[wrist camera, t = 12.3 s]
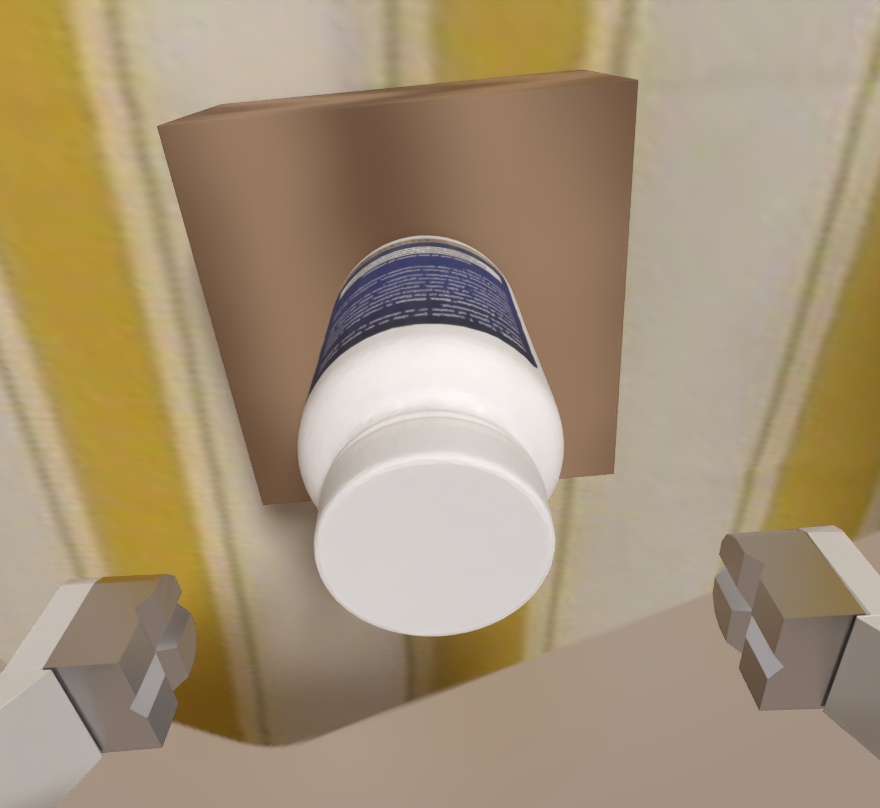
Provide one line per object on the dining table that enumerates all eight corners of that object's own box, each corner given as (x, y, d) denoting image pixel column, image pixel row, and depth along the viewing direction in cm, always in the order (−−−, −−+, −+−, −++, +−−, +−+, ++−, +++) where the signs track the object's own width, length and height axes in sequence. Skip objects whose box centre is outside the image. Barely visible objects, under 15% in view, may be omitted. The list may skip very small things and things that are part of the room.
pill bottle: (296, 289, 18) (193, 508, 10) (464, 195, 17) (513, 348, 9) (393, 429, 21) (379, 702, 12) (545, 354, 20) (647, 598, 11)
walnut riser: (583, 69, 21) (638, 79, 16) (575, 389, 27) (613, 473, 22) (220, 104, 21) (156, 125, 16) (292, 415, 27) (262, 504, 22)
